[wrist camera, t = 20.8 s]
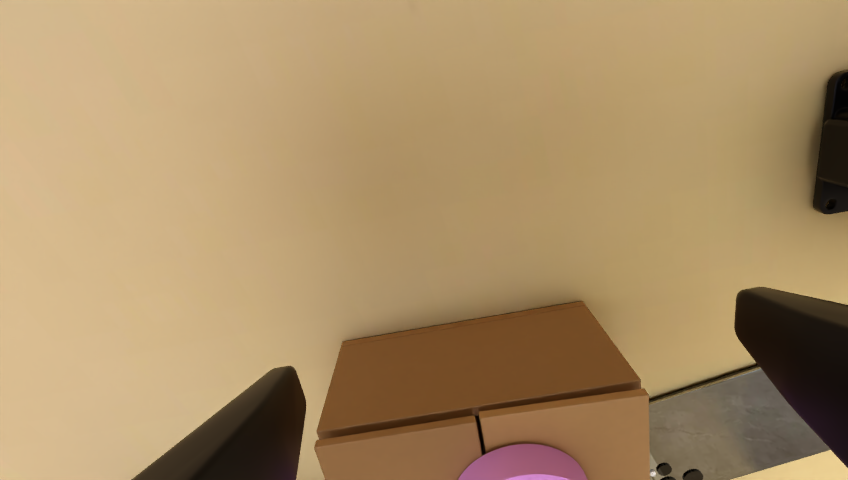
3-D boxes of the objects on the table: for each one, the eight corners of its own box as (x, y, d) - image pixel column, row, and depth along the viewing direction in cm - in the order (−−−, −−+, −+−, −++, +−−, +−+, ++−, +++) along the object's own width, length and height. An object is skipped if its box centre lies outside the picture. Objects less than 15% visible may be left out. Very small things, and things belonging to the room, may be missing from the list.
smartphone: (899, 430, 26) (634, 513, 28) (889, 423, 26) (629, 505, 28) (893, 325, 23) (602, 424, 25) (882, 320, 24) (598, 417, 26)
